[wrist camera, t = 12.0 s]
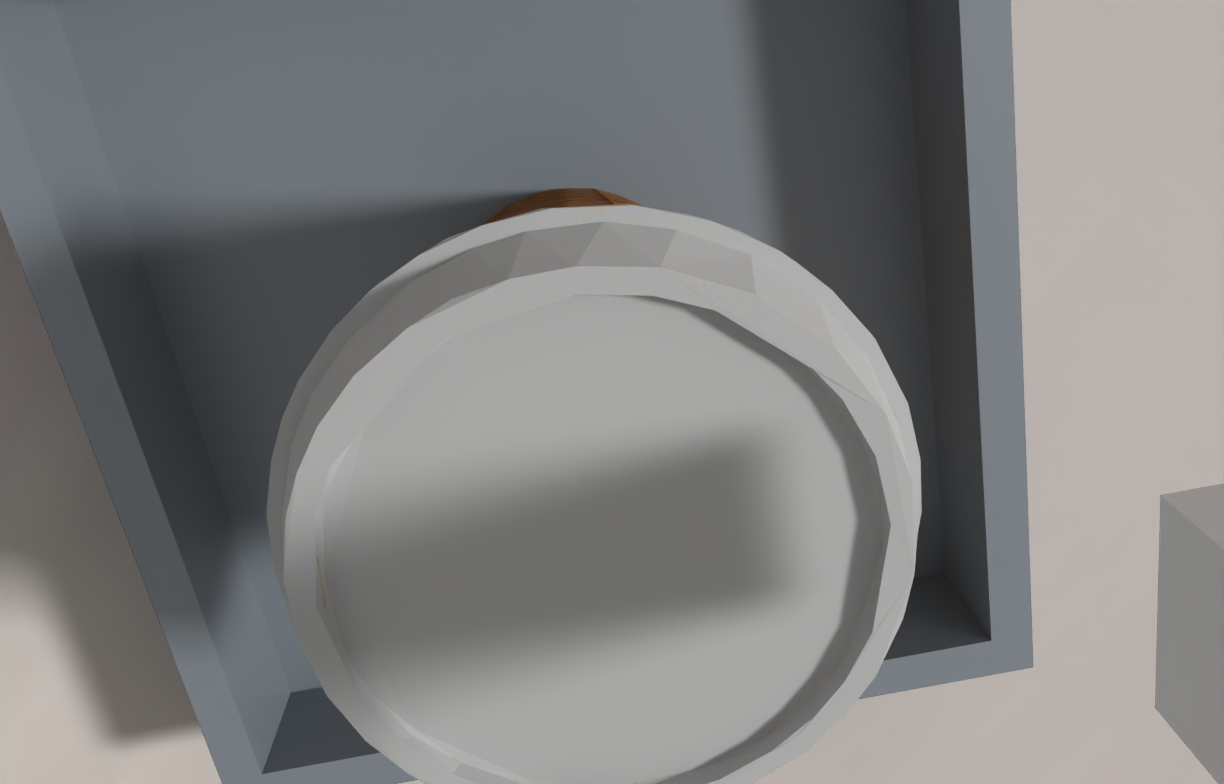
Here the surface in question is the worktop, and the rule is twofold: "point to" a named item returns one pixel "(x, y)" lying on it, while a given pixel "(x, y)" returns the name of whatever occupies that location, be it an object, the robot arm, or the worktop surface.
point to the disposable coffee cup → (596, 503)
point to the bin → (465, 199)
